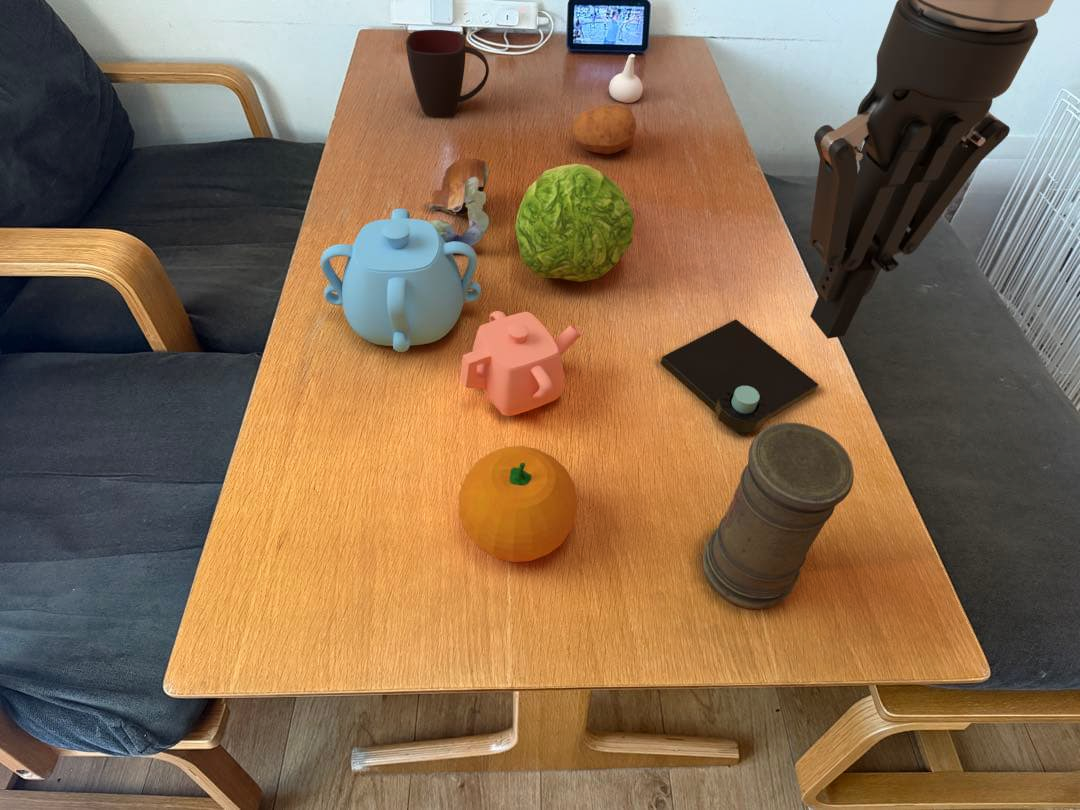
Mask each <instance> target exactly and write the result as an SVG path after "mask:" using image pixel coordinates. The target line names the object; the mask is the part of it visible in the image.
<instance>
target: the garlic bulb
mask: <svg viewBox="0 0 1080 810" xmlns="http://www.w3.org/2000/svg"><path fill="white" fill-rule="evenodd" d="M635 58H636V55H635V54H633V53H631V54H629V55H628V57H627V60H626V62H625V65H624V69H623V70H622V72H621V73H617V74H616V75H614V76H613V77H612V78H611V80H610V82H609V84H608V93H609V95H610V96H611V98H612V99H614V100H615V101H617V102H620V103H626V104H630V103H635V102H637V101H639V99H640V98H641V97H642V95H643V92H644V91H643V90H644V87H643V83H642V81H641V78H640V77H638V76H637V75H636V74H635Z"/></svg>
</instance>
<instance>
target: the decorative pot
mask: <svg viewBox="0 0 1080 810" xmlns="http://www.w3.org/2000/svg"><path fill="white" fill-rule="evenodd" d="M427 221H428V220H425V219H419V218H411V214H410V211H409V210H408V209H406V208H401V207H399V208H395V209H393V210H392V212H391V216H390V218H386V219H385V218H384V219H378V220H373V221H371V222H368V223H366V224H365V225H364V226H363V227H362V228H361V229H360V230H359V232H358V234H357V235H356V237H355V240H354V242H353V244H352V245H351V244H345V243H338V244H333V245H331V246H329V247H327V248H326V249H325V250H324V251H323V252H322V254H321V256H320V267H321V270H322V273H323V275H324V277H325V278H326V280H327V281H328V283H329V284H328V285H327V286H325V288H324V291H323V296H324V297H323V298H324V299H325V301H326V303H328V304H330V305H333V306H335V307H337V306H338V307H339V306H342V308H343V309H342V310H343V313H344V316H345V318H346V320H347V322H348V324H349V326H350V327H351V329H352V330H353V332H355V333H356V334H357V335H358V336H359V337H361V338H362V339H364V340H365V341H367V342H369V343H370V344H371V343H372V344H374V345H378V346H390V347H392V348H393V350H394V351H396V352H398V353H405V352H406V351H408V350H409V348H410V346H418V345H425V344H426V345H427V344H431V343H434V342H437V341H439V340H441V339H442V338H443V337H445V336H446V335H447V334H448V333H450V331H451V330H452V329H453V328H454V326H455V325H456V324H457V321H458V320H459V318H460V316H461V313H462V310H463V307H464V302H468V303H472V302H474V301H477V300H478V299H479V298H480V297H481V294H482V287H481V285H480V283H478V282H477V281H473V278H474V275H475V272H476V271H477V267H478V266H477V265H478V256H477V253H476V251H475V250H474V248H473V247H472V246H471V247H470V246H469V245H467V244H465V243H462V242H457V241H453V242H448V243H446V242H445V241H444V239H443V238H442V236H441V234H440V233H439V232H438V231H437V229H436V228H435V227H434V226H433V225H432V224H431V223H429V222H430V221H429V222H427ZM455 253H456V254H458V255H463V256H465V257H467V258H468V262H467V266H466V269H465V271H464V274H463V276H461V272H460V269H459V265H458V263H457V261H456V258H455V256H454V255H456V254H455ZM336 257H343V258H347V259H346V262H345V266H344V269H343V276H342V280H341V278H340V277H339V275H338V274H337V273H336V271H335V270H334V268H333V266H332V263H331V261H330V260H331V259H333V258H336ZM335 292H336V293H335Z"/></svg>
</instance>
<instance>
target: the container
mask: <svg viewBox="0 0 1080 810" xmlns="http://www.w3.org/2000/svg"><path fill="white" fill-rule="evenodd" d="M747 455H748V456H747V458H748V460H747V464H746V465H745V467H744V468H743V470H742V472H741V475H740V479H739V482H738V485H737V487H736V489H735V491H734V494H733V497H732V498H731V500H730V503H729V505H728V507H727V510H725V511H726V512H725V513H724V516H723V517H722V518H721V519H720V522H719V523H718V526H717V527H716V529H714V531H713V532H712V533H711V535H710V537H709V539H708V540H707V542H706V544H705V546H704V548H703V552H702V568H703V572H704V576H705V579H706V580H707V582H708V584H709V585H710V586H711V588H712V589H713V590H714V591H715V592H716V594H718V595H719V596H720V597H721V598H723V599H724V600H725V601H727V602H729V603H731V604H733V605H735V606H737V607H740V608H745V609H751V610H764V609H765V610H766V609H768V608H772V607H775V606H777V605H779V604H781V603H782V602H783V601H785V600H786V599H787V598H789V596H790V595H791V593H792V592H793V591H794V589H795V587H796V584H797V582H798V580H799V578H800V575H801V568H802V567H803V566H804V564H805V562H806V559H807V554H808V552H809V550H810V549H811V548H812V546H813V544H814V542H815V541H816V539H817V537H818V535H819V534H820V532H821V531H822V529H823V527H824V526H825V524H826V523H827V521H829V520H830V518H831V517H832V516H833V514H834V511H835V508H836V506H838V505H839V504H840V503H842V502H843V501H844V500H845V499H846V498H847V496H849V494H850V493H851V490H852V488H853V484H854V475H855V474H854V466H853V462H852V460H851V457H850V455H849V453H848V452H847V450H846V449H845V447H843V445H842V444H841V443H840V442H839V441H838V440H836V439H835V438H834V437H833V436H832V435H830V434H829V433H827V432H825V430H821V429H820V428H817V427H815V426H812V425H809V424H805V423H800V422H789V421H788V422H779V423H775V424H772V425H769V426H767V427H765V428H764V429H763V430H761V431H760V432H759V433H757V434H756V436H755V437H754V438H753V440H752V441H751V443H750V446H749V449H748V454H747Z"/></svg>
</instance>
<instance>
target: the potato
mask: <svg viewBox="0 0 1080 810" xmlns="http://www.w3.org/2000/svg"><path fill="white" fill-rule="evenodd" d="M570 127H571V128H570V129H571V130H570V135H571V137H572V138H573V140H574V141H575V143H576V144H577V145H578V147H580V148H581V149H583V150H585V151H588V152H591V153H597V154H603V155H604V154H605V155H609V154H614V153H617V152H620V151H622V150H625V149H626V148H628V147H630V146H631V145H632V144H633V143H634V139H635V135H636V132H637V127H638V126H637V122H636V118H635V116H634V113H633V111H632V110H631V108H630V106H628V105H626V104H623V103H613V104H605V105H600V106H599V105H598V106H596V107H594V108H591V109H587V110H584V111H581V112H580V113H579V114H577V115H576V116H575V117H574V118H573V120H572V122H571V126H570Z"/></svg>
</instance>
